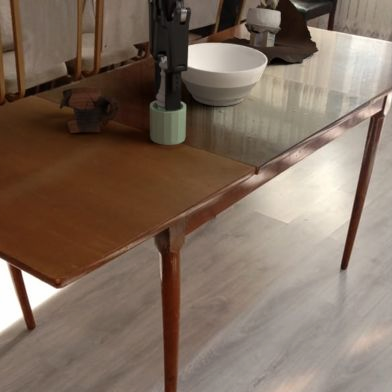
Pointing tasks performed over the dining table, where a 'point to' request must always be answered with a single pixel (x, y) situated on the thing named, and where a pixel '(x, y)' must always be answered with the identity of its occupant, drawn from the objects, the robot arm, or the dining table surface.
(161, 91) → the rook chess piece
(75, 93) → the pottery mug
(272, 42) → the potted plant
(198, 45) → the bowl
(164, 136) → the green cylindrical cup
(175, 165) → the dining table surface
